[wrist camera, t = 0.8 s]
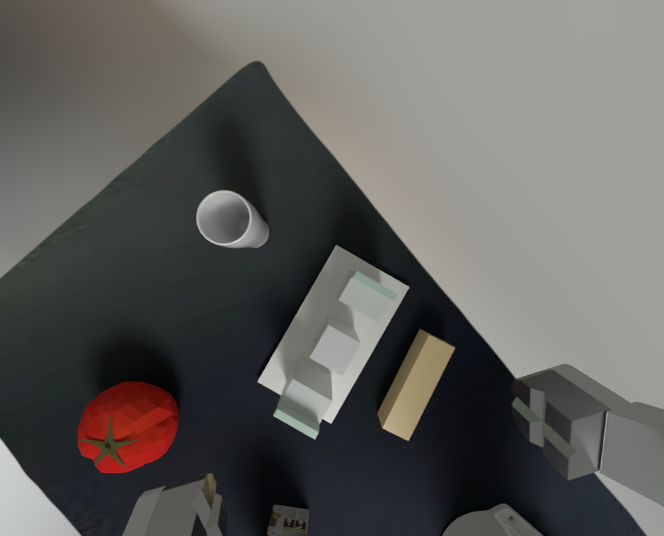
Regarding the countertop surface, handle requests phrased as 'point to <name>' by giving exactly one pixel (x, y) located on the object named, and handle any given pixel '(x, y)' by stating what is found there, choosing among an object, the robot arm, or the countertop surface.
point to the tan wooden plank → (414, 384)
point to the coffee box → (288, 521)
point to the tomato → (128, 426)
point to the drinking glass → (231, 221)
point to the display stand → (330, 340)
